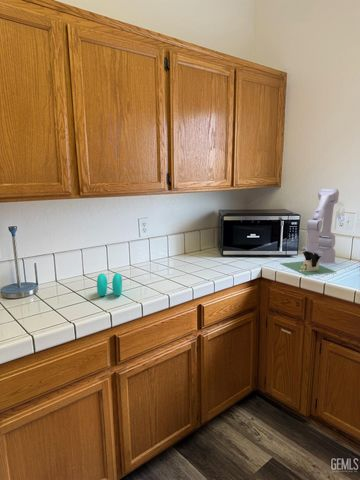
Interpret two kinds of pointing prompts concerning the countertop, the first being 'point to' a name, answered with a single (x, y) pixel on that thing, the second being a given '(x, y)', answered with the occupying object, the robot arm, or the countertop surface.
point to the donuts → (103, 284)
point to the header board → (299, 268)
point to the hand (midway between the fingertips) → (311, 265)
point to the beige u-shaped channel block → (310, 265)
